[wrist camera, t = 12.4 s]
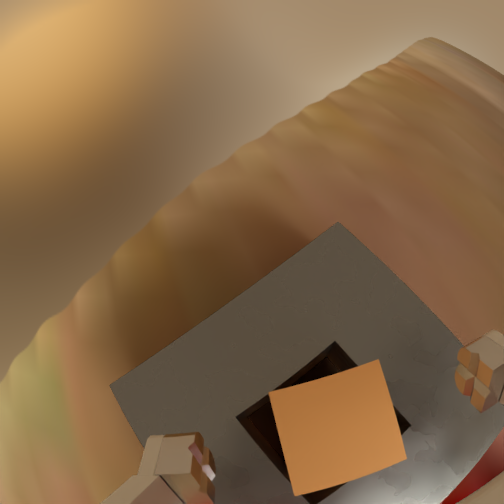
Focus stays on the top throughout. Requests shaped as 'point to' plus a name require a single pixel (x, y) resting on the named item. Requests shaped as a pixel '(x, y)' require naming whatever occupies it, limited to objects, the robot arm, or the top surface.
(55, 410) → the top surface
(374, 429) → the square block
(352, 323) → the square hole plate
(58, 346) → the top surface
